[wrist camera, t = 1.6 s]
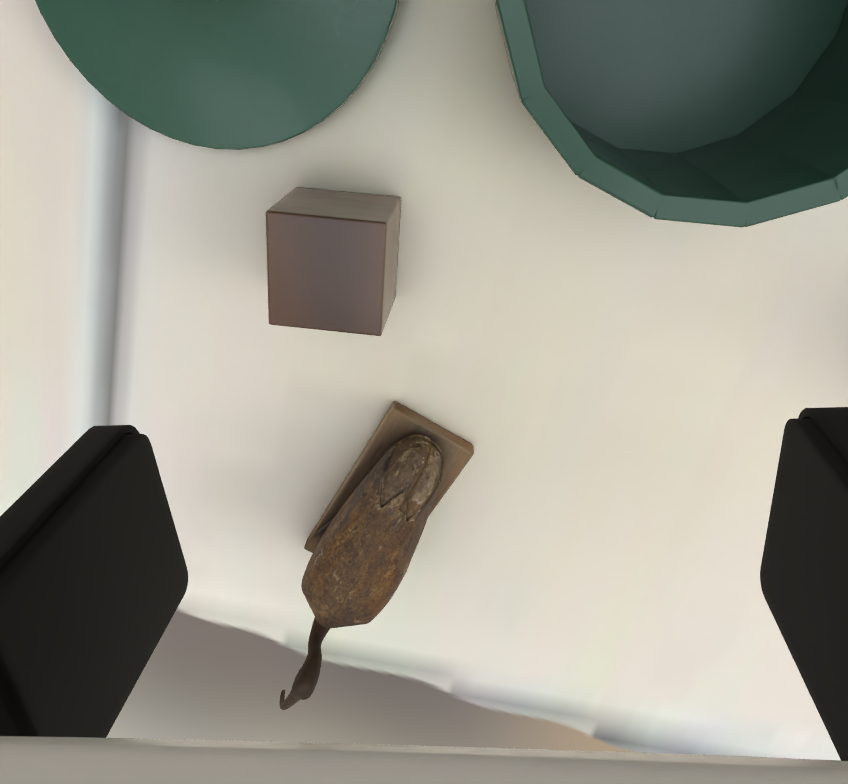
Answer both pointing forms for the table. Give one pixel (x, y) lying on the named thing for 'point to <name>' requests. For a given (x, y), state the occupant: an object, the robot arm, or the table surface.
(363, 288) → the block
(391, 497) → the figurine
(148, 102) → the lid
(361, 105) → the table surface
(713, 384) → the table surface
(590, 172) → the tin
